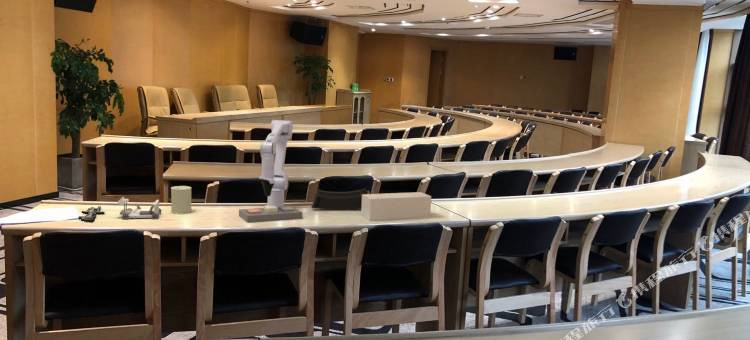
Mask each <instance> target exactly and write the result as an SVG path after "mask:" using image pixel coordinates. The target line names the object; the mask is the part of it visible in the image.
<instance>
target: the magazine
mask: <svg viewBox="0 0 750 340" xmlns="http://www.w3.org/2000/svg"><path fill="white" fill-rule="evenodd" d="M362 194H370V191H369V190H367V188H365V187H364V188H363V189H358V190H357V189H356V190H352V191H326V190H321V189H319V188H318V189H317V190H316V192H315V196H314V199H313V201H312V205H311V209H318V210H325V211H326V210H327V211H337V212H338V211H340V212H341V211H343V212H344V211H358V210H361V209H362V208H361V207H362Z"/></svg>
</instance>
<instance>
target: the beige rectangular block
mask: <svg viewBox="0 0 750 340" xmlns="http://www.w3.org/2000/svg"><path fill="white" fill-rule="evenodd" d="M431 204H432V196H431V195H429V194H426V193H424V192H421V191H420V192H419V191H417V192H416V191H415V192H395V193H394V192H391V193H369V194H362V207H361V208H362V209H360V211H361V214H360V216H361V217H362V218H364V219H366V220H367V221H369V222H373V221H375V222H377V221H378V222H379V221H391V220H410V219H424V218H427V219H428V218H431V212H432V211H431V209H432V205H431Z"/></svg>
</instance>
